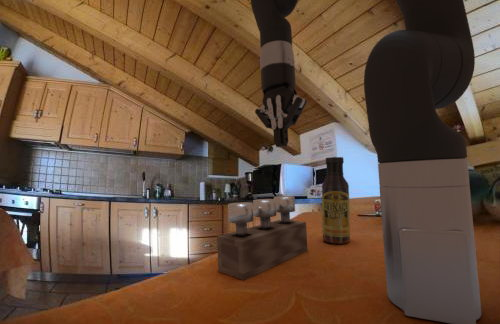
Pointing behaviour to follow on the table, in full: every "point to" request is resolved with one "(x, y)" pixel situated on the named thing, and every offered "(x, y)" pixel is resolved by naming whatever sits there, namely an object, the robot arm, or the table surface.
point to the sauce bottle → (335, 203)
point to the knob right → (285, 207)
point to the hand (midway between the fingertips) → (281, 146)
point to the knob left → (240, 216)
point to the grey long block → (260, 248)
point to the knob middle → (264, 211)
